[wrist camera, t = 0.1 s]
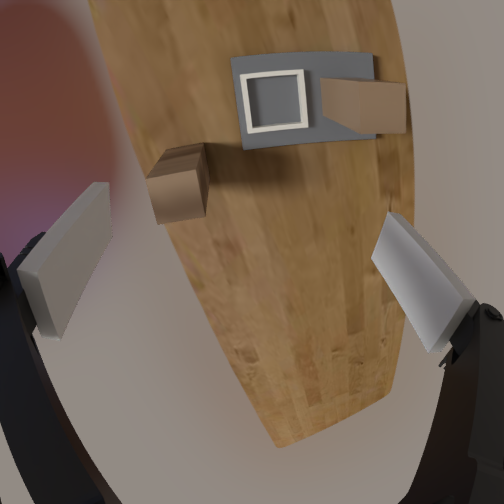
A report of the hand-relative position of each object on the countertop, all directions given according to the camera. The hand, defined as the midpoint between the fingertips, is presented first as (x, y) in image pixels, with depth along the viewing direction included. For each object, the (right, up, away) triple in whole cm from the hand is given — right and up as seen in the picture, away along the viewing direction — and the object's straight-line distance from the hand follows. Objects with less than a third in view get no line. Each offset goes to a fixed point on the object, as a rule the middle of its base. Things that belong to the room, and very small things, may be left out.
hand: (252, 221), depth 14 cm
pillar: (-8, +10, +26) cm, 29 cm away
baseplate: (+7, +18, +22) cm, 29 cm away
